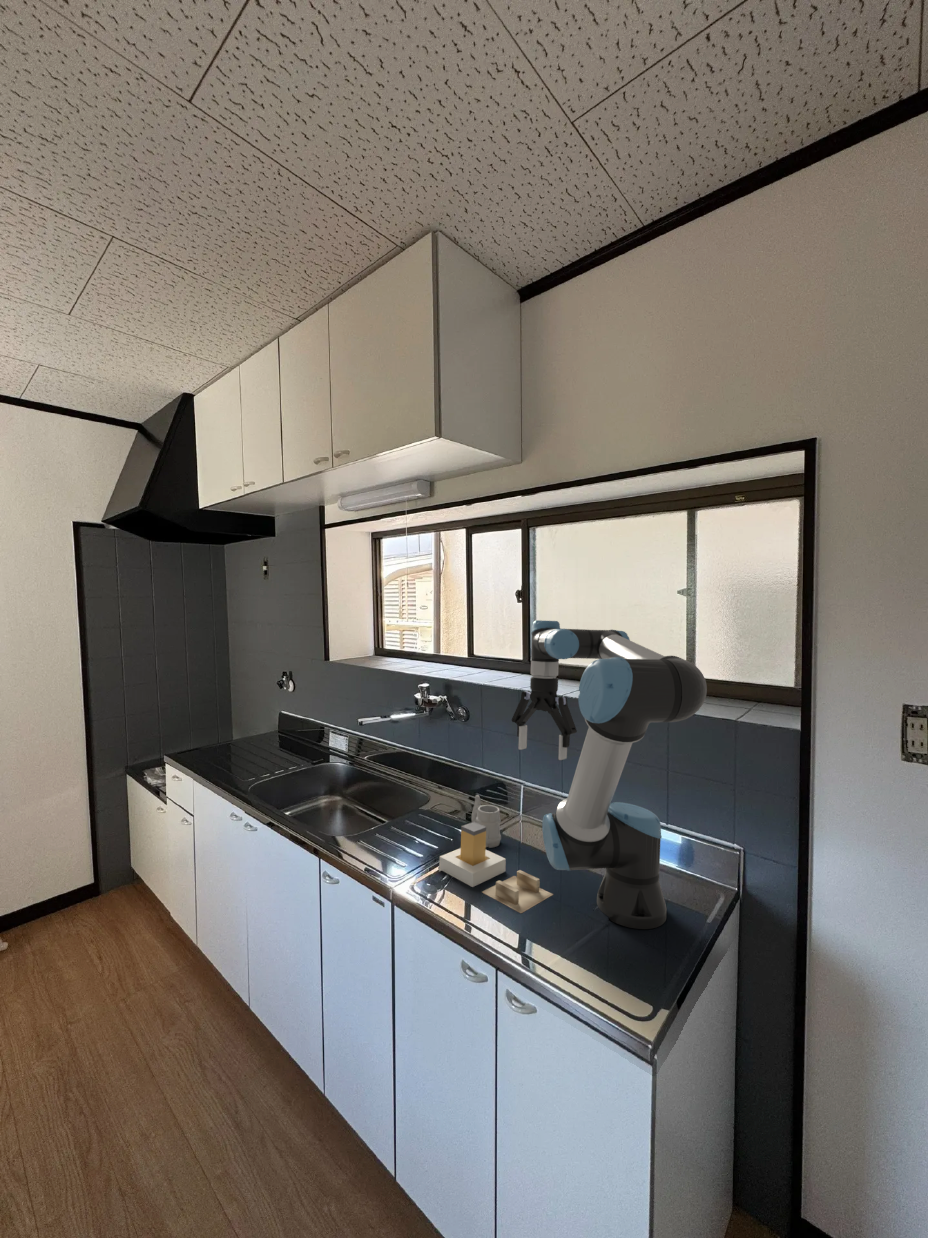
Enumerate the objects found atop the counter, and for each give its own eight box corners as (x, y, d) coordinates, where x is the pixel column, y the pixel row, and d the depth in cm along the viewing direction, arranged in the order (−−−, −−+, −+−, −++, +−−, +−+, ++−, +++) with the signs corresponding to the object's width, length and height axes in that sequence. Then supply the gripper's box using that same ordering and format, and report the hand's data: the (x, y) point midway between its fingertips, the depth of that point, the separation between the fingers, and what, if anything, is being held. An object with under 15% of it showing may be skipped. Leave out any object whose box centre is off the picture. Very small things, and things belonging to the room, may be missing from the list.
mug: (484, 850, 149) (486, 808, 149) (461, 835, 159) (463, 795, 159) (506, 844, 153) (507, 803, 153) (482, 830, 163) (483, 791, 163)
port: (505, 874, 135) (505, 858, 135) (472, 890, 127) (472, 873, 127) (471, 858, 144) (472, 843, 144) (439, 872, 136) (439, 856, 136)
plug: (484, 873, 135) (486, 827, 135) (472, 879, 132) (473, 831, 132) (472, 867, 139) (473, 822, 139) (459, 873, 135) (461, 826, 135)
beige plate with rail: (553, 898, 125) (553, 881, 125) (520, 917, 116) (521, 899, 116) (514, 878, 133) (514, 863, 133) (481, 895, 125) (482, 879, 125)
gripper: (591, 680, 139) (588, 761, 139) (517, 671, 156) (515, 743, 157) (575, 682, 133) (572, 766, 134) (501, 672, 151) (498, 746, 151)
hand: (541, 754), depth 145 cm, fingers open, 13 cm apart
